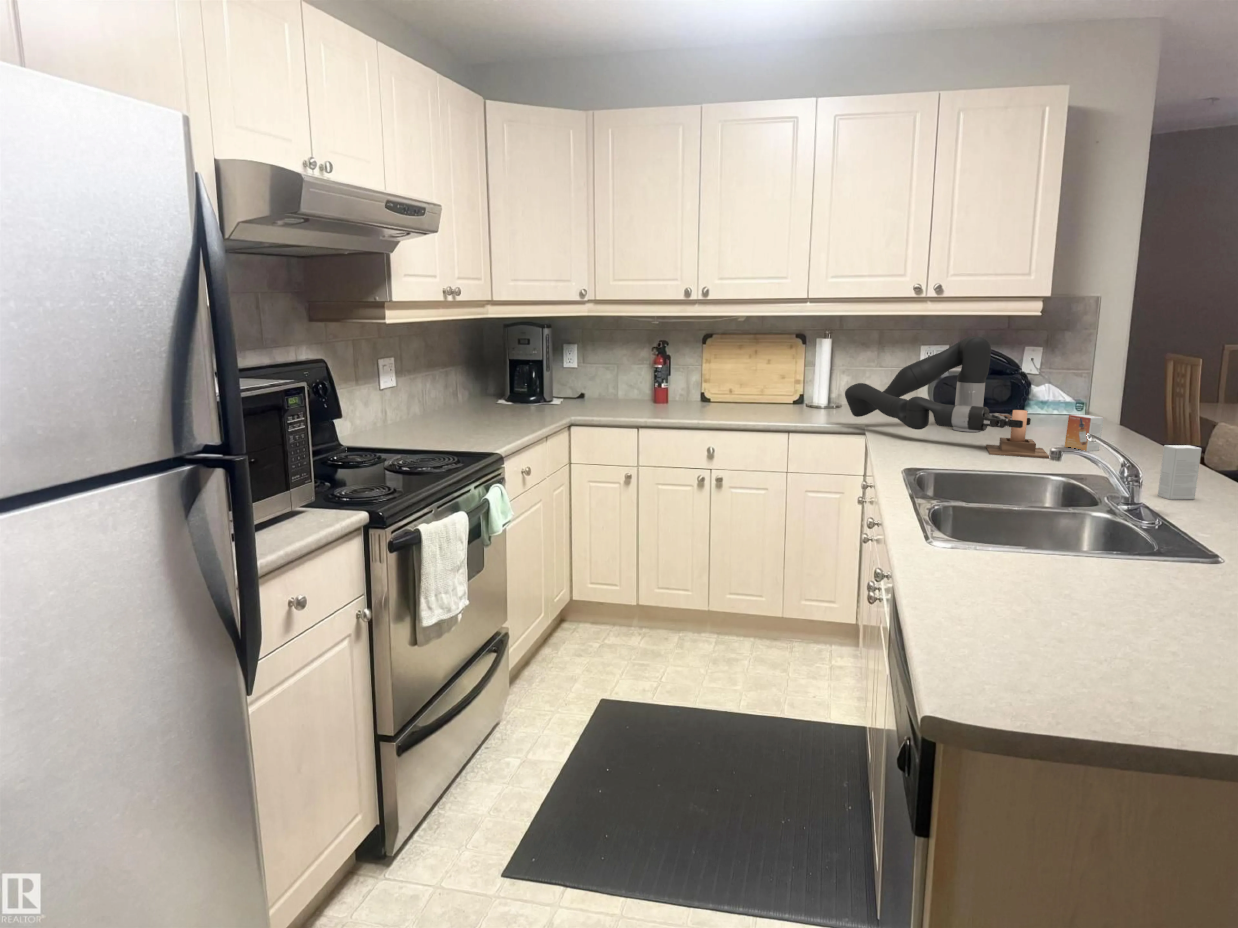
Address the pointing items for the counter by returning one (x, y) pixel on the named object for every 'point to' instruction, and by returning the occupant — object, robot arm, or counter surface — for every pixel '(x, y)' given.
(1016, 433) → the pin
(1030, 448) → the socket block
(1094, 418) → the small box
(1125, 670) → the counter surface
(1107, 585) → the counter surface
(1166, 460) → the skincare box
